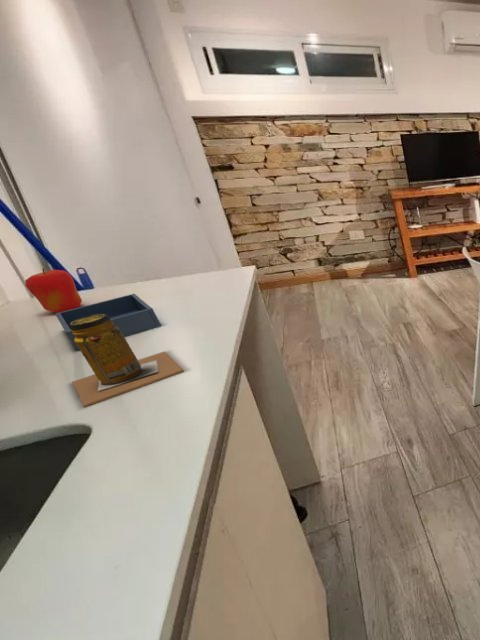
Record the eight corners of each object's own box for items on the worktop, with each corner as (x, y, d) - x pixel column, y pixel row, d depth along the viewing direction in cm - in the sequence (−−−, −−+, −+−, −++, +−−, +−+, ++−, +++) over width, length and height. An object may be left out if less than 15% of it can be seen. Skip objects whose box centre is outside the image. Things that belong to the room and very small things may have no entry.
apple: (71, 304, 132) (46, 263, 127) (97, 303, 131) (73, 262, 126) (35, 316, 124) (7, 273, 119) (63, 316, 123) (36, 272, 118)
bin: (77, 350, 102) (65, 332, 100) (65, 330, 114) (54, 313, 112) (161, 325, 112) (152, 308, 110) (143, 309, 124) (134, 293, 122)
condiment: (99, 378, 89) (63, 320, 84) (156, 360, 94) (125, 305, 89) (98, 392, 84) (59, 331, 79) (159, 373, 89) (126, 315, 84)
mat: (84, 407, 81) (83, 405, 80) (73, 383, 89) (71, 381, 88) (184, 371, 90) (183, 369, 90) (165, 352, 98) (164, 351, 98)
